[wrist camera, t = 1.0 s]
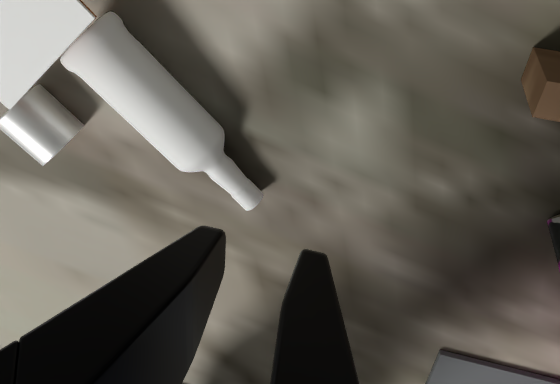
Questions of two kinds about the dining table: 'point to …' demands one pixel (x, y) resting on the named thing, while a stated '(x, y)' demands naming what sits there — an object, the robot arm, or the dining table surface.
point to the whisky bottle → (103, 90)
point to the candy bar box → (555, 234)
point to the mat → (479, 372)
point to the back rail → (543, 83)
